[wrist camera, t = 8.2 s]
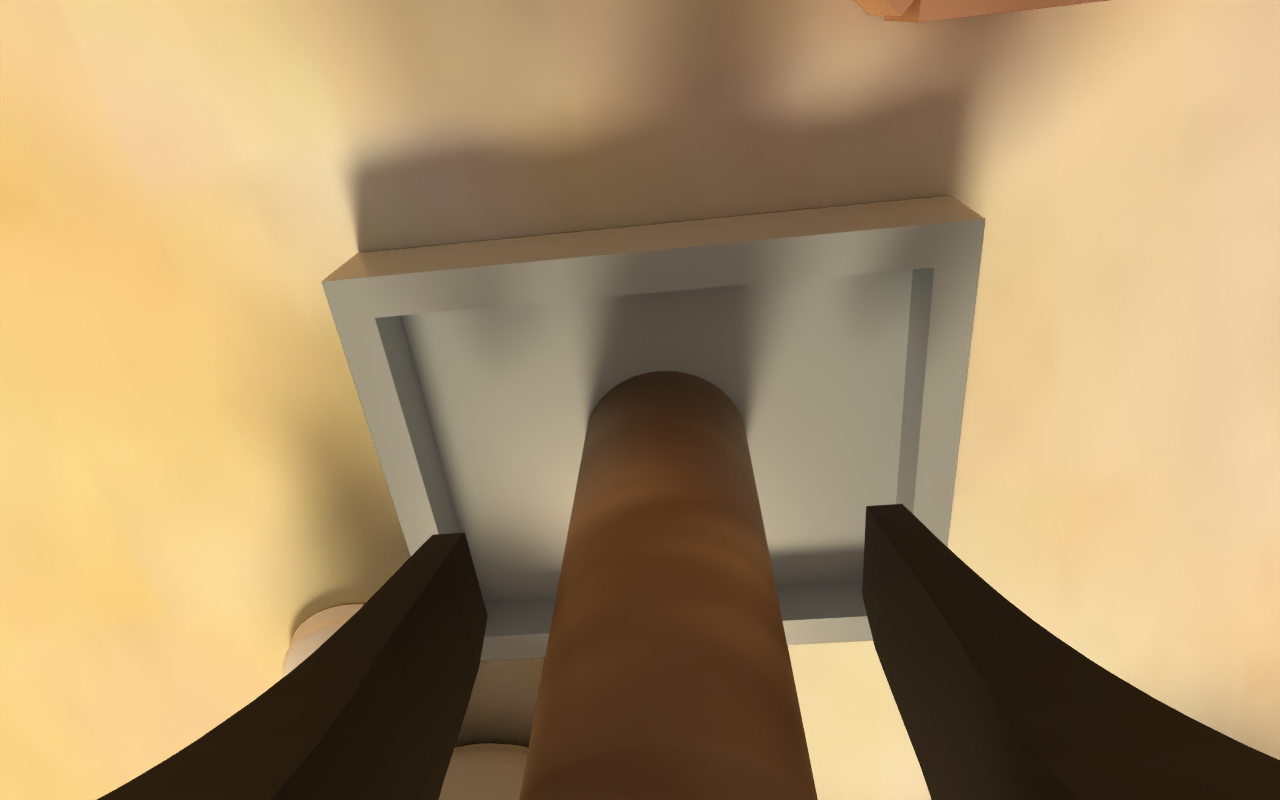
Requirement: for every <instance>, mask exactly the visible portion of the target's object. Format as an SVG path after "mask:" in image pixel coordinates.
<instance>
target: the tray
mask: <svg viewBox="0 0 1280 800" xmlns="http://www.w3.org/2000/svg"><path fill="white" fill-rule="evenodd" d="M984 226H985V218H983V217H982V216H980V215H979V214H977V213H976V212H974V211H973V210H971V209H970V208H968V207H967V206H965V205H964V204H962V203H961V202H959V201H958V200H956V199H955V198H953V197H952V196H950V195H949V196H939V197H929V198H918V199H908V200H898V201H888V202H877V203H867V204H857V205H847V206H836V207H826V208H816V209H805V210H795V211H785V212H775V213H764V214H754V215H744V216H734V217H723V218H713V219H703V220H693V221H682V222H672V223H662V224H651V225H641V226H631V227H621V228H610V229H600V230H590V231H580V232H569V233H559V234H549V235H539V236H528V237H518V238H508V239H497V240H487V241H477V242H467V243H456V244H446V245H436V246H426V247H415V248H405V249H395V250H385V251H374V252H364V253H357V254H356V255H354V256H353V257H352V258H351V259H349V260H348V261H347V262H346V263H344V264H343V265H342V266H341V267H339V268H338V269H337V270H336V271H334V272H333V273H332V274H331V275H329V276H328V277H327V278H326V279H324V280H323V281H322V285H323V288H324V291H325V294H326V297H327V300H328V303H329V306H330V310H331V313H332V316H333V319H334V322H335V325H336V328H337V331H338V334H339V337H340V340H341V343H342V347H343V350H344V353H345V356H346V359H347V362H348V365H349V368H350V371H351V374H352V377H353V380H354V384H355V387H356V390H357V393H358V396H359V399H360V402H361V405H362V408H363V411H364V414H365V417H366V421H367V424H368V427H369V430H370V433H371V436H372V439H373V442H374V445H375V448H376V451H377V455H378V458H379V461H380V464H381V467H382V470H383V473H384V476H385V479H386V482H387V485H388V488H389V492H390V495H391V498H392V501H393V504H394V507H395V510H396V513H397V516H398V519H399V522H400V525H401V529H402V532H403V535H404V538H405V541H406V544H407V547H408V550H409V553H410V556H412V555H413V554H414V553H415V552H416V551H417V550H418V549H419V548H420V547H421V546H422V545H423V544H424V543H425V542H426V541H427V540H428V539H429V538H430V537H431V536H432V535H435V534H450V533H465V535H466V538H467V542H468V546H469V549H470V553H471V557H472V560H473V564H474V568H475V571H476V575H477V578H478V582H479V586H480V589H481V593H482V597H483V600H484V604H485V608H486V611H487V615H488V617H487V624H486V630H485V636H484V643H483V648H482V654H481V659H480V661H489V660H509V659H528V658H545V655H546V649H547V644H548V638H549V633H550V627H551V622H552V616H553V611H554V605H555V600H556V594H557V589H558V584H559V578H560V573H561V567H562V562H563V556H564V551H565V545H566V540H567V534H568V529H569V523H570V518H571V512H572V507H573V501H574V496H575V491H576V485H577V480H578V474H579V469H580V463H581V458H582V452H583V447H584V441H585V436H586V430H587V425H588V422H589V419H590V416H591V414H592V412H593V410H594V408H595V407H596V405H597V404H598V402H599V401H600V400H601V399H602V398H603V397H604V396H605V394H606V393H607V392H609V391H610V390H611V389H612V388H614V387H615V386H617V385H618V384H620V383H621V382H623V381H625V380H627V379H630V378H632V377H634V376H637V375H641V374H644V373H649V372H656V371H676V372H682V373H688V374H691V375H694V376H697V377H700V378H702V379H704V380H707V381H708V382H710V383H712V384H713V385H715V386H717V387H718V388H719V389H720V390H722V391H723V392H724V393H725V394H726V395H727V396H728V397H729V398H730V399H731V400H732V402H733V403H734V404H735V406H736V407H737V409H738V411H739V413H740V415H741V417H742V420H743V423H744V426H745V431H746V437H747V442H748V447H749V452H750V457H751V462H752V467H753V472H754V477H755V483H756V488H757V493H758V498H759V503H760V508H761V513H762V518H763V523H764V529H765V534H766V539H767V544H768V549H769V554H770V559H771V564H772V569H773V575H774V580H775V585H776V590H777V595H778V600H779V605H780V610H781V615H782V621H783V626H784V631H785V636H786V641H787V645H798V644H817V643H837V642H856V641H873V638H872V634H871V630H870V626H869V622H868V618H867V614H866V609H865V605H864V601H863V597H862V584H863V563H864V542H865V521H866V506H875V505H890V504H903V505H904V506H905V507H906V508H907V509H908V510H909V511H910V512H912V513H913V514H914V515H915V516H916V517H917V518H918V519H919V520H920V521H921V522H922V523H923V524H924V525H925V526H926V527H927V528H928V529H929V530H930V531H931V532H932V533H933V534H934V535H935V536H936V537H937V538H938V539H939V540H940V541H941V542H942V543H944V544H945V545H946V546H948V537H949V528H950V520H951V511H952V502H953V494H954V485H955V477H956V468H957V459H958V451H959V442H960V433H961V425H962V416H963V408H964V399H965V390H966V382H967V373H968V364H969V356H970V347H971V338H972V330H973V321H974V313H975V304H976V295H977V287H978V278H979V269H980V261H981V252H982V244H983V235H984Z"/></svg>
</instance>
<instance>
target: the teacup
mask: <svg viewBox="0 0 1280 800" xmlns="http://www.w3.org/2000/svg"><path fill="white" fill-rule="evenodd" d="M527 753H528V747H524V746H519V745H512V744H490V743H482V744H472V745H465V746H460V747H455V748H454V750H453V754H452V757H451V760H450V763H449V766H448V770H447V773H446V776H445V779H444V782H443V786H442V789H441V793H440V797H439V800H519V797H520V792H521V786H522V781H523V775H524V770H525V764H526V759H527Z"/></svg>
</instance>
